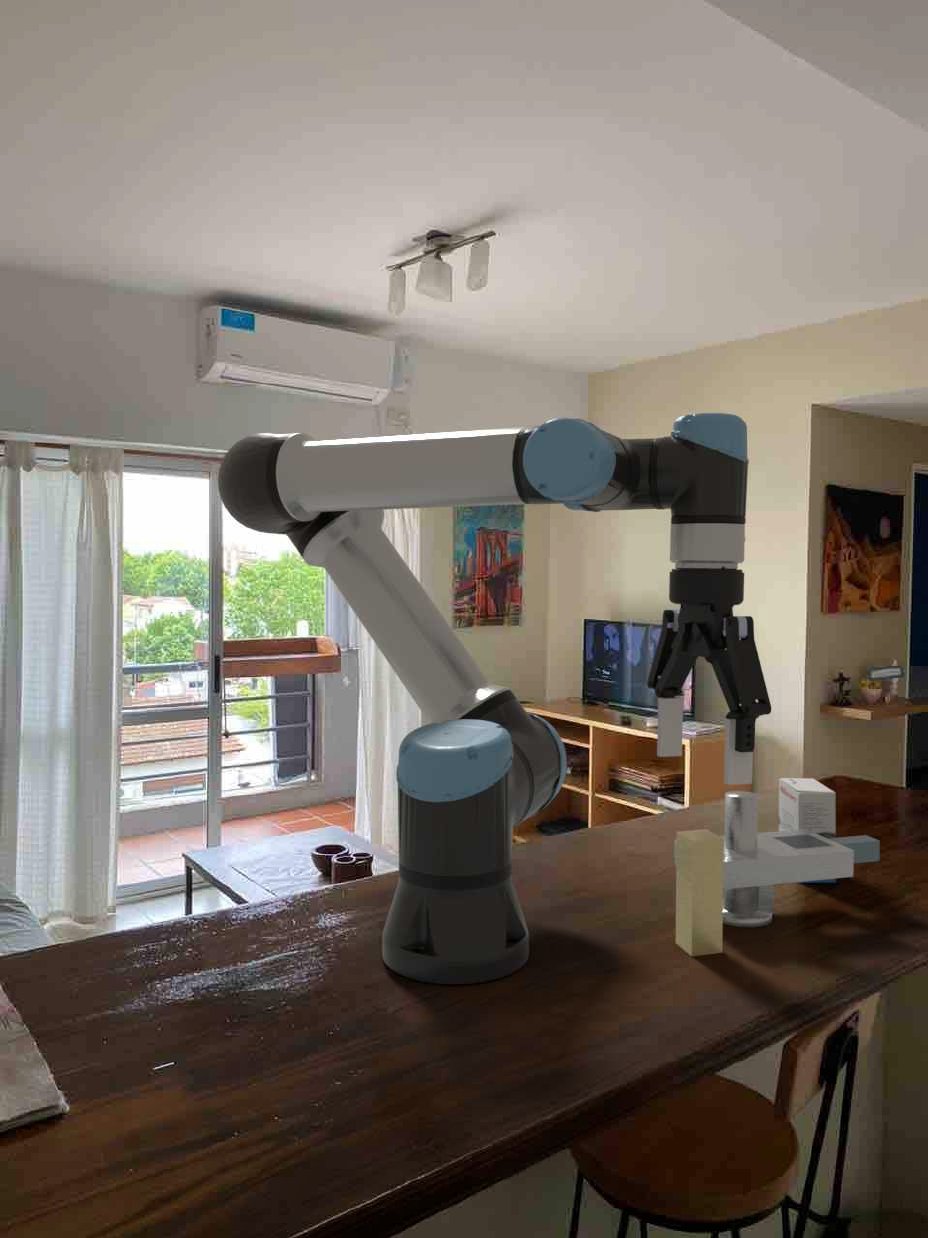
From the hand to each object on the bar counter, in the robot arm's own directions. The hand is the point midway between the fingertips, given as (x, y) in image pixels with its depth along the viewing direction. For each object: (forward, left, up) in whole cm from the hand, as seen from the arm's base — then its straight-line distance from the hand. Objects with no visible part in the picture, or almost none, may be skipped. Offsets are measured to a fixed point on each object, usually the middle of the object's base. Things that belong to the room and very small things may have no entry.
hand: (701, 769), depth 99 cm
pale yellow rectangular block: (-1, -1, -19) cm, 19 cm away
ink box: (+25, +17, -19) cm, 35 cm away
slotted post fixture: (+14, +6, -19) cm, 24 cm away
